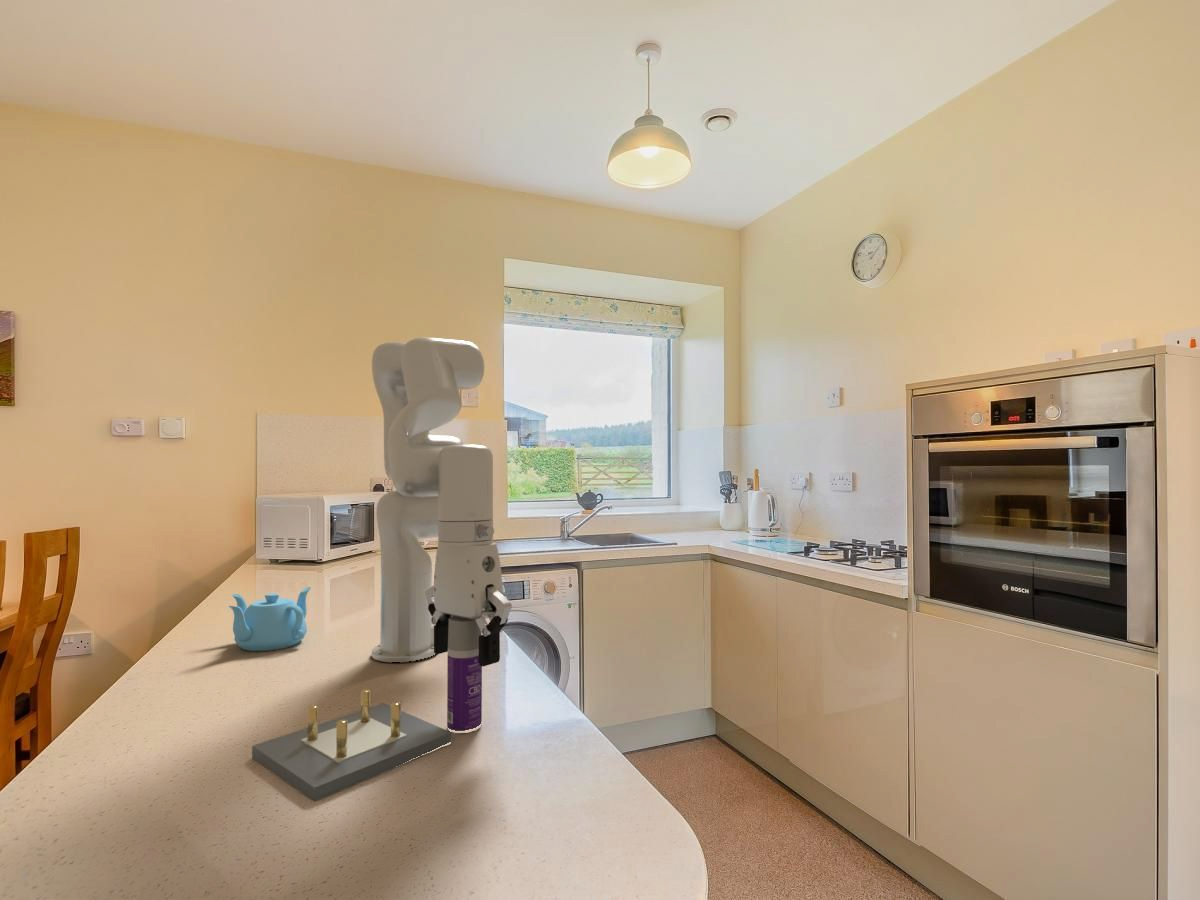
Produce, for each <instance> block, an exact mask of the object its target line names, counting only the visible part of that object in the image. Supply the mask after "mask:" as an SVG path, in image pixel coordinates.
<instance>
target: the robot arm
mask: <svg viewBox="0 0 1200 900" xmlns="http://www.w3.org/2000/svg"><path fill="white" fill-rule="evenodd" d="M371 357H372V358H371V371H372V380H373V384H374V387H375V390H376V394H377V396H378V400H379V402H380V405H381V408H382V413H383V414H382V415H383V460H384V461H383V462H384V471H385V473H386V476H387V478H388V479H389V480H391V481H392V485H393V486H394V487H393V488H395V490H392V491H389V492H386V493H385V494H383V495H382V496H381V497H380V498H379V499H378V502H377V504H376V511H375V512H376V521H377V528H378V535H379V545H380V632H379V633H380V642H379V644H377V645H376V646H374V647H373V648H372V649H371V658H372V659H374V660H375V661H378V662H383V663H392V662H400V663H409V661H411V662H416V660H418V661H421V660H420V659H422V660H425V659H424V658H426V659H428V657H429V658H431V656H432V657H433V655H434V656H436V655H441V654H444V653H448V627H449V618H450V617H452V616H457V617H462V618H467V619H475V620H476V622H477V624H478V626H479V628H480V630H481V632H482V635H480V636H479V665H480V666H482V668H483V667H487V666H490V665H493V664H497V663H499V661H500V660H501V651H500V650H501V639H500V638H501V636H500V635H501V633H503V632H504V627H505V626H506V625H507V623H508V621H509V616H510V612H511V610H512V603H511V601H510V600H509V599H508V598H506V596H505V595H504V594H503V591H504V590H503V576H502V568H501V559H500V555H499V553H500V552H499V549H498V545H497V543H495V542H494V533H495V528H494V459H493V458H494V456H493V453H492V450H491V449H490V448H489V447H487V446H485V445H481V444H480V445H479V444H464V443H463V442H462V440H461V439H460V438H458V437H455V436H453V435H436V434H435V435H432V434H430V431H432V430H435V429H437V428H439V427H442V426H445V425H447V424H449V423H450V422H451V421H453V420H454V419H455V418H456V417H457V416H458V415H459V413H460V411H461V409H462V403H463V402H462V397H461V394H460V390H471V389H475V388H477V387H478V386H479V385H480V384H481V383H482V380H483V377H484V374H485V361H484V356H483V353H482V352H481V350H480V348H479V347H478V346H477V345H476V344H474V342H470V341H465V340H458V339H447V338H439V337H438V338H437V337H426V336H425V337H417V338H413V339H410V340H409V341H407V342H406V341H389V342H385V343H380V345H378V346H376V347H375V349H374V350H373V353H372V356H371ZM430 538H437V541H438V542H437V549H436V554H435V564H434V571H433V562H432V558H431V556H430V554H429V553H428V551H427V550H426V549H425V548H424V547H423V546H422V544H420V541H419V540H421V539H430ZM433 572H434V574H433ZM486 619H488V620H489V623H488V621H487V620H486ZM435 654H436V655H435Z"/></svg>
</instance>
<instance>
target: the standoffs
mask: <svg viewBox="0 0 1200 900" xmlns="http://www.w3.org/2000/svg"><path fill="white" fill-rule="evenodd" d="M390 706H391V737H399V736H400V727H401V711H402V709H401V707H402V703H401V702H400V701H395V702H392V703H390ZM370 707H371V689H362V690H361V691H360V710H361V722H362V723H366V722H369V721H370ZM318 724H319V705H317V704H311V705H309V706H308V707H307V725H306V726H307V727H306V728H307V740H308V741H314V740H317V739H318ZM347 724H348V721H347V720H339V721H337V732H336V757H337V758H343V757H346V756H347Z"/></svg>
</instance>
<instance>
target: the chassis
mask: <svg viewBox="0 0 1200 900" xmlns="http://www.w3.org/2000/svg"><path fill="white" fill-rule="evenodd" d="M339 720H347V721H348V724H347V756H346V757H343V758H337V757H336V732H337V721H339ZM452 734H453V733H452V732H450V731H448V729H445V728H442V727H440V726H438V725H436V724H433V723H430V722H428V721H426V720H424V719H422V718H419V717H417V716H414V715H412V714H410V713H407V712H406V711H403V710H401V727H400V736H399V737H391V705H390V704H387V703H385V702H382V703H379V704H376V705H373V706H370V721H369V722H366V723H362V722H361V709H360V710H358V711H354V712H352V713H348V714H345V715H342V716H339V717H336V718H333V719H329V720H328V721H327V720H326V721H323V722H320V723H318V739H317V740H314V741H308V740H307V727H305V728H302V729H300V730H296V731H294V732H290V733H287V734H283V735H279V736H278V737H274V738H271V739H268V740H266V741H263V742H259V743H256V744H254V745H252V746H251V749H252V750H251V759H253V760H254V761H255V762H257V763H258V764H260V765H261V766H263V767H264V768H265V769H267V770H268V771H270V772H271V773H272V774H274V775H275V776H277V777H278V778H280V780H281V779H282V780H283V781H284V782H286V783H287V784H288V785H290V786H291V787H293V788H294V789H296V790H297V791H298V792H300V793H301V794H303V795H304V796H306V797H307V798H308V799H310V800H311V801H312V802H314V803H315V802H317V801H319V800H322V799H325V798H327V797H330V796H332V795H335V794H336V793H338V792H341V791H343V790H346V789H348V788H350V787H354V786H355V785H358V784H360V783H362V782H365V781H368V780H369V778H370V779H372V778H374V777H376V775H377V776H379V775H382V774H383V773H382V772H384V771H386V772H388V771H387V770H389V769H391V770H392V768H393V769H395V768H394V767H396V766H398V767H400V766H402V765H401V764H403V763H405V762H407V761H409V760H411V759H413V758H416V757H418V756H421V755H422V754H425V753H427V752H430V751H432V750H434V749H436V748H438V747H440V746H442V745H445V744H447V743H449V742H451V743H452ZM405 764H406V763H405ZM399 765H400V766H399ZM403 765H404V764H403ZM396 768H397V767H396ZM389 771H390V770H389ZM381 773H382V774H381ZM384 773H385V772H384Z"/></svg>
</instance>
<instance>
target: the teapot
mask: <svg viewBox="0 0 1200 900" xmlns="http://www.w3.org/2000/svg"><path fill="white" fill-rule="evenodd" d="M311 588H312V587H311V586H308V587H305V588H304V589H302V590H301V591H300V593H299V595H298V598H297V600H296V602H297V603H296V602H295V601H294V600H293V599H291V598H279V597H280V593H266V594H265V595H264V598H265V599H262V600H261V599H260V600H257V601H254V602H252V603H250V604H249V605H248V606H247V602H246V600H245V598H244V596H242V595H240V594H237V593H232V594H231V596H232V597H233V598H234V600H235V601H236V606H235V605H228V608H230V609H231V610H232V611H233V623H232V624H233V626H232V633H233V634H234V635H233V636H234V639H233V640H234V642H235V643H236V645H237V646H239V648H241V649H242V650H243V651H248V652H266V651H267V652H269V651H276V650H281V649H286V648H290V647H293V646H295V645H297V644H299V643H300V642H301V641H302V640H304V638H305V636H306V634H307V632H308V628H307V621H306V616H307V594H308V593H309V591H310V590H311Z"/></svg>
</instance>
